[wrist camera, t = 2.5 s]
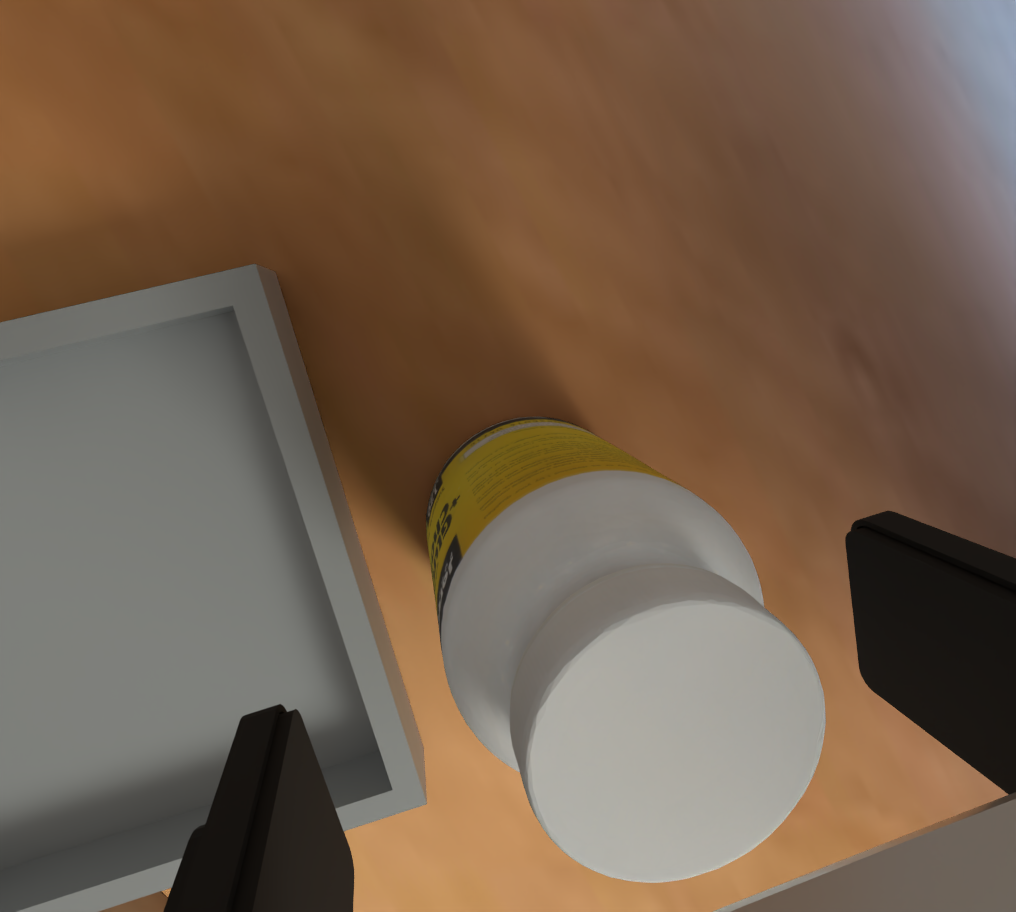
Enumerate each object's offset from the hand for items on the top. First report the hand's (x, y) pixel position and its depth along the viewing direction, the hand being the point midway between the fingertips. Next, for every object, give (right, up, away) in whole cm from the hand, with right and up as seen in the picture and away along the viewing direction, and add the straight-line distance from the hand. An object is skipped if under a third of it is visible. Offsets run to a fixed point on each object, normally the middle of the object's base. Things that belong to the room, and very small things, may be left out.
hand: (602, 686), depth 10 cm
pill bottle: (-1, +2, +10) cm, 11 cm away
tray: (-14, -1, +9) cm, 16 cm away
